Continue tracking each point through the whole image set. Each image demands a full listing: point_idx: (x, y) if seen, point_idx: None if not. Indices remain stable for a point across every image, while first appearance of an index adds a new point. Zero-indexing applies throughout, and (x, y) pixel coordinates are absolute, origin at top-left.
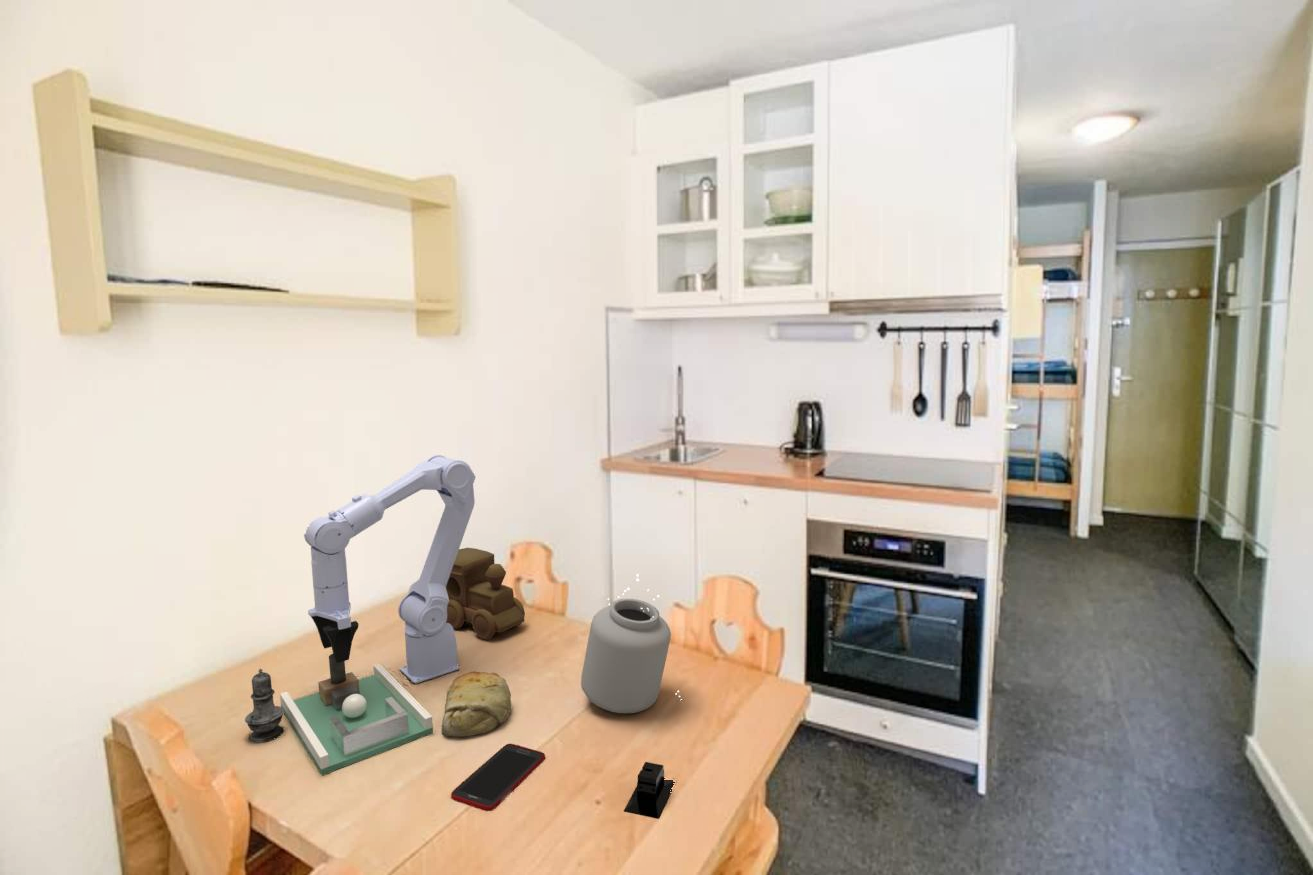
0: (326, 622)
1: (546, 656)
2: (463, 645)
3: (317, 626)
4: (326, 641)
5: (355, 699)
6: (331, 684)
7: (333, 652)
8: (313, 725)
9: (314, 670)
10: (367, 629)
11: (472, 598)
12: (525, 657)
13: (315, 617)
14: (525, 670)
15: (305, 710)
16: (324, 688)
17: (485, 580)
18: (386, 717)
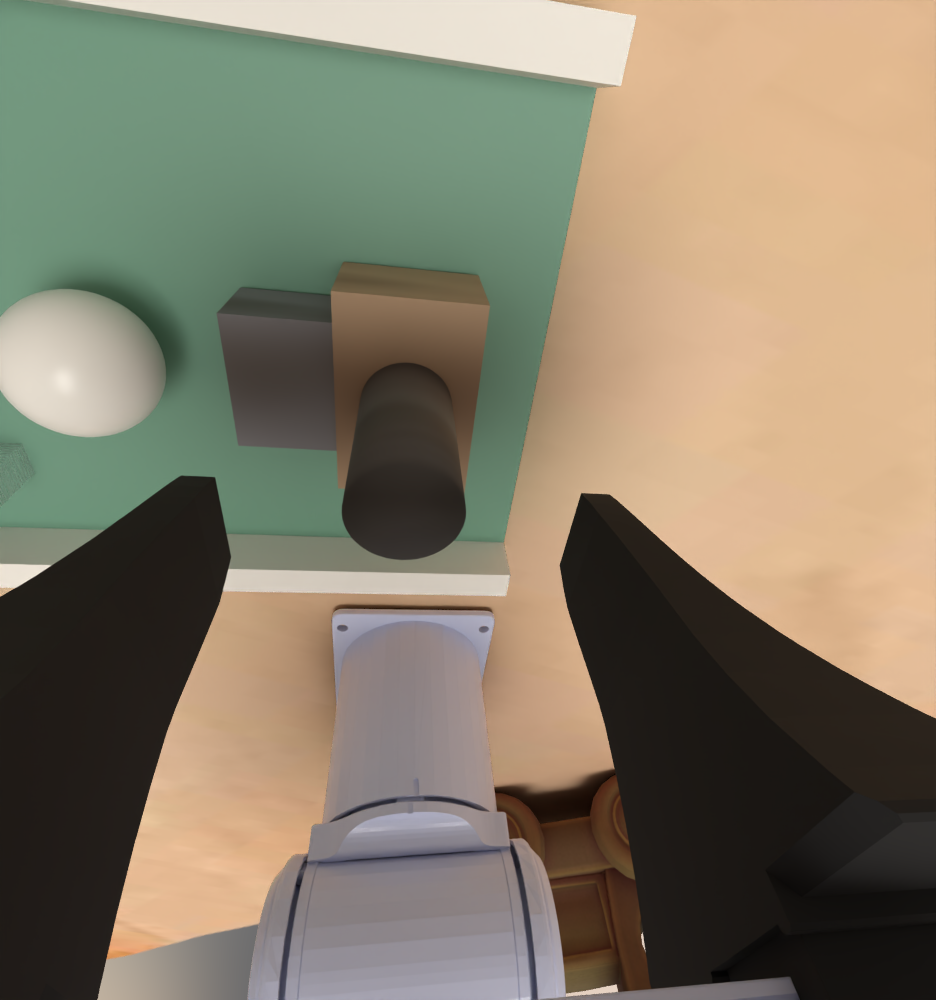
0: (674, 749)
1: (259, 837)
2: (497, 757)
3: (707, 655)
4: (594, 551)
5: (2, 386)
6: (386, 356)
7: (124, 530)
8: (118, 86)
9: (836, 380)
10: (909, 633)
11: (584, 922)
12: (290, 815)
13: (803, 803)
14: (208, 798)
15: (379, 134)
16: (356, 300)
17: (619, 987)
18: (10, 445)
